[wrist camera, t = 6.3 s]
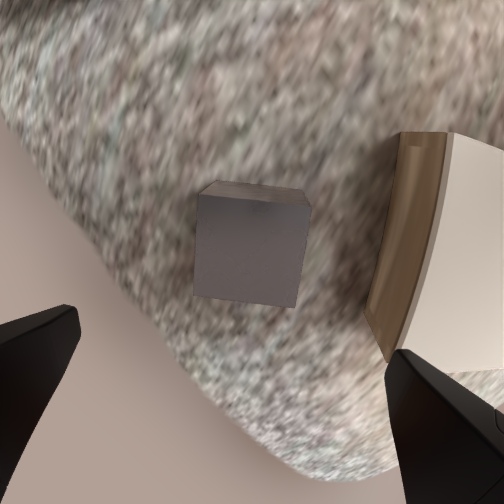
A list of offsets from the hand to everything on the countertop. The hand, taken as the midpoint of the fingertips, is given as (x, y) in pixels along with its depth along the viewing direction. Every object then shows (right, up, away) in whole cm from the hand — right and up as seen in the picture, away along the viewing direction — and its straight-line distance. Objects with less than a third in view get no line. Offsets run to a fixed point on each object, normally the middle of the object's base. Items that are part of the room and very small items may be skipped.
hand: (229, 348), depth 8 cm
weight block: (+1, +4, +11) cm, 12 cm away
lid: (+15, +1, +5) cm, 16 cm away
